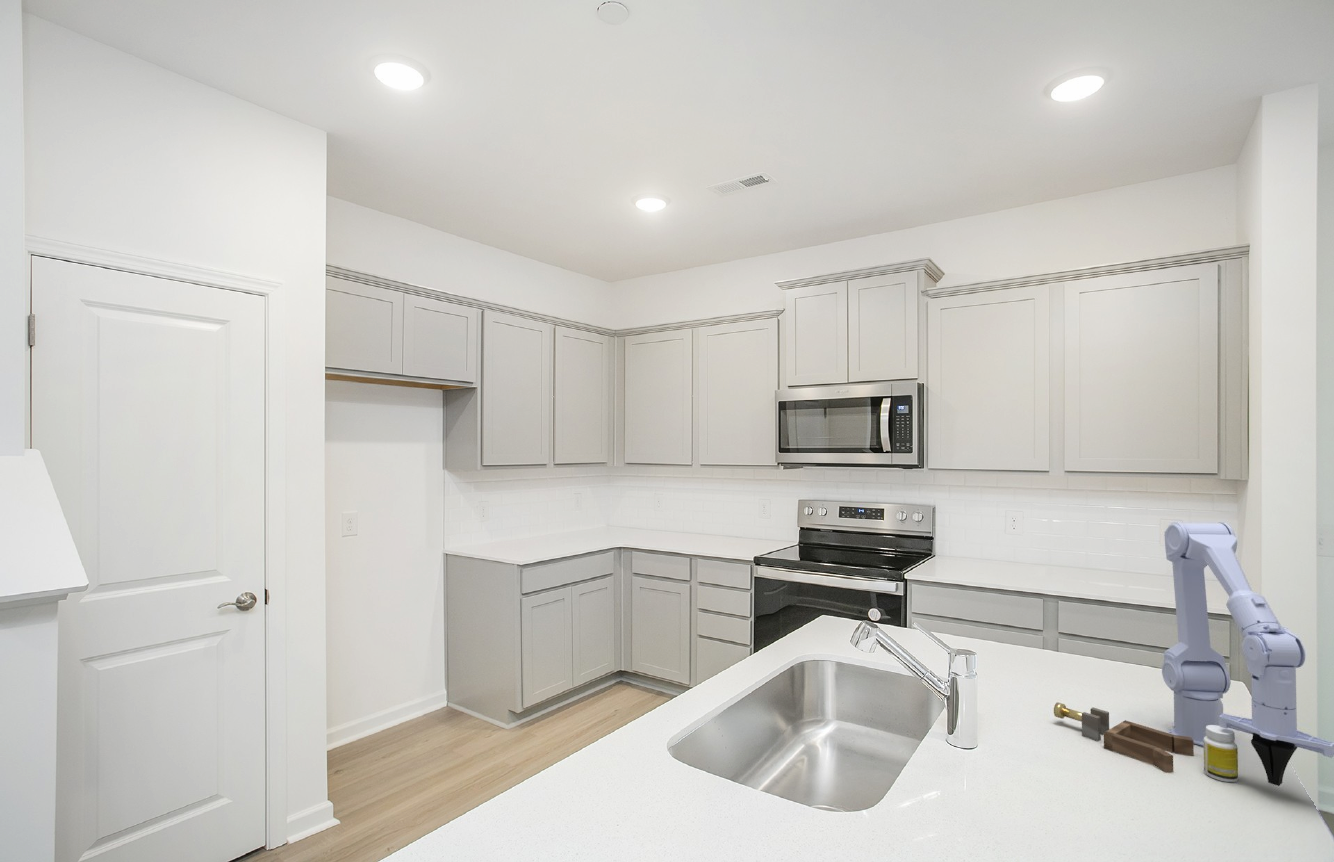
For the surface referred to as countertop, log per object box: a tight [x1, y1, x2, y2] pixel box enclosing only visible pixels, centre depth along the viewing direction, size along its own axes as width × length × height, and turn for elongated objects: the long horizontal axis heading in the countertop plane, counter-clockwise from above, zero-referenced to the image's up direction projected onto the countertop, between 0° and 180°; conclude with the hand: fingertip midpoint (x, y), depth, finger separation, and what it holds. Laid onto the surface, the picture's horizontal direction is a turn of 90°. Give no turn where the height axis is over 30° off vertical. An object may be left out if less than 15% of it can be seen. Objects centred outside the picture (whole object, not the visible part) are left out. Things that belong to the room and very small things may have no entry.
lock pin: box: [1053, 702, 1083, 723], centre depth 140 cm, size 3×7×3 cm, turn 35°
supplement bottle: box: [1203, 725, 1239, 783], centre depth 120 cm, size 5×5×8 cm
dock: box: [1081, 707, 1195, 773], centre depth 131 cm, size 13×16×5 cm
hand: (1275, 782), depth 114 cm, fingers closed
